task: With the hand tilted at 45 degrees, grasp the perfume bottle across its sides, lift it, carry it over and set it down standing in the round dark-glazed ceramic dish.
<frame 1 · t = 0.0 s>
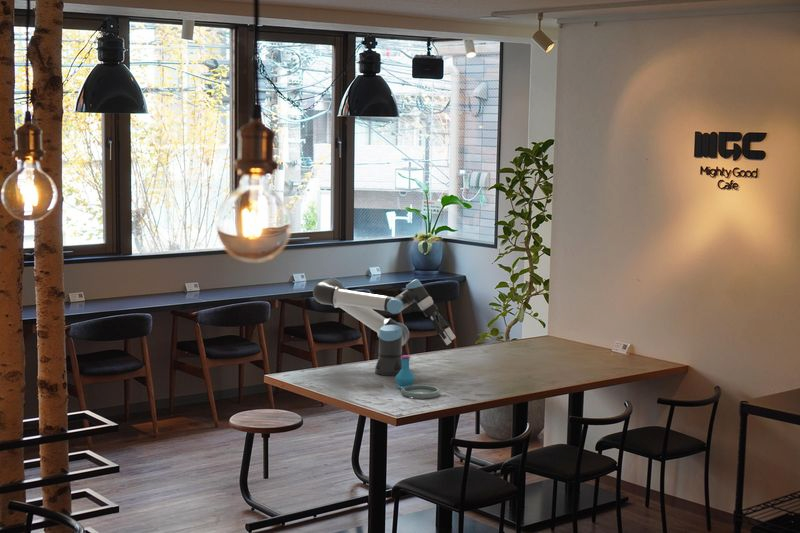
hand: (451, 341, 524), 15 cm above the table, tool tilted 35°, fingers open, 13 cm apart
perfume bottle: (405, 387, 489), on the table
round dish: (420, 394, 475), on the table
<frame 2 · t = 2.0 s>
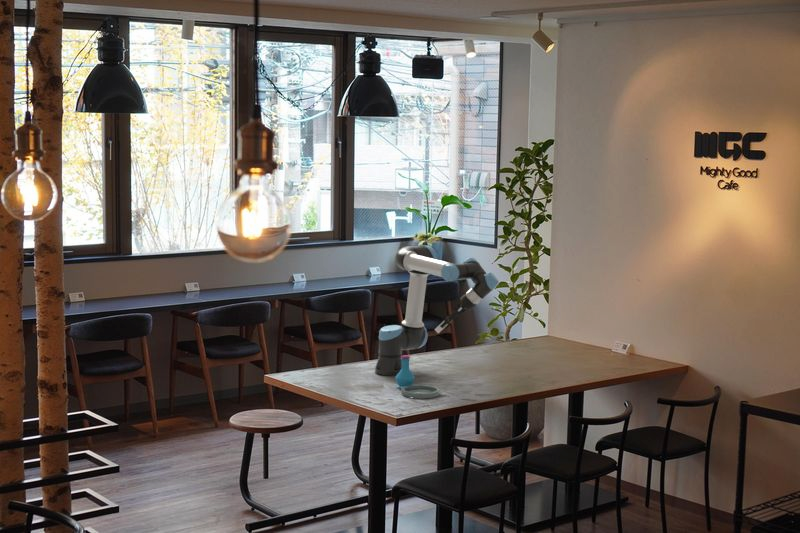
hand: (438, 329, 488), 28 cm above the table, tool tilted 45°, fingers open, 13 cm apart
nothing on the table moved.
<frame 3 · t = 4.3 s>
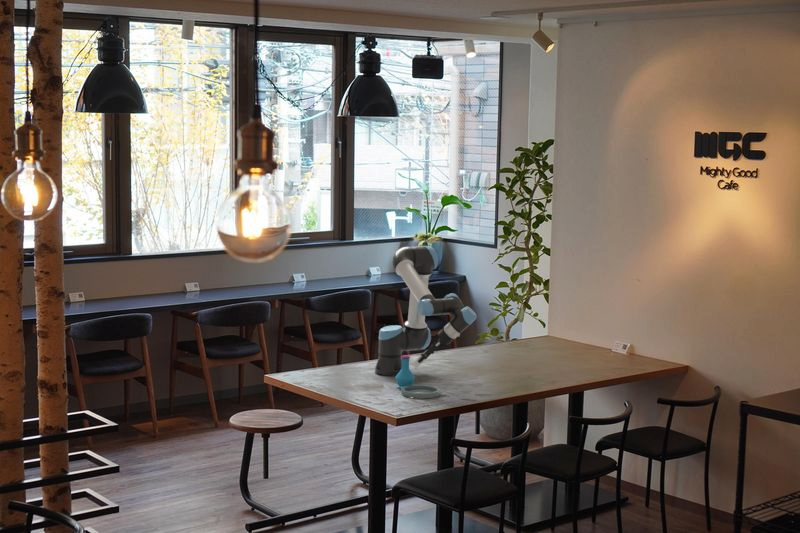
hand: (416, 363, 485), 12 cm above the table, tool tilted 45°, fingers open, 13 cm apart
nothing on the table moved.
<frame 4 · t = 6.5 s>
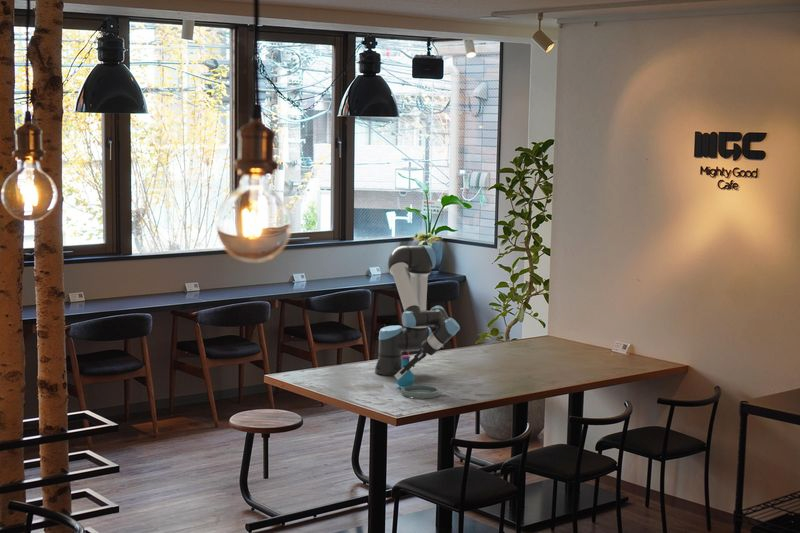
hand: (398, 375, 489), 5 cm above the table, tool tilted 45°, fingers closed on perfume bottle, 9 cm apart
perfume bottle: (405, 387, 489), on the table, touching gripper
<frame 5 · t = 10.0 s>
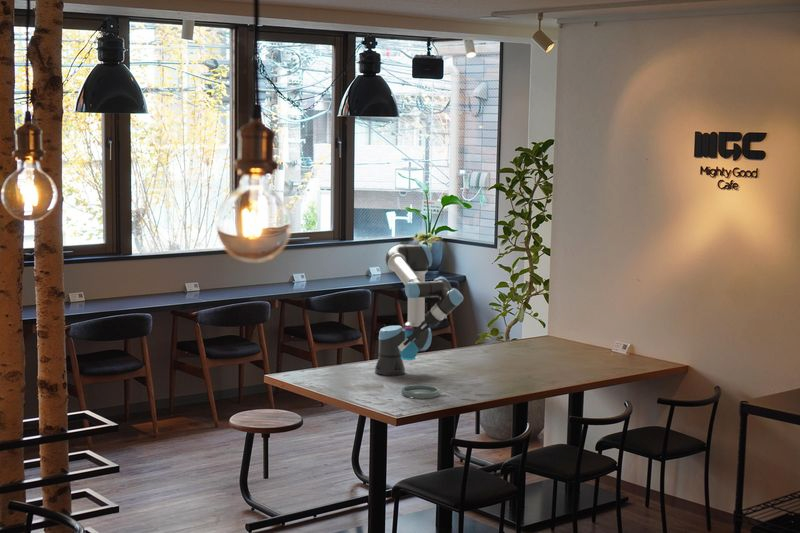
hand: (401, 347, 485), 19 cm above the table, tool tilted 45°, fingers closed on perfume bottle, 9 cm apart
perfume bottle: (408, 359, 485), point 14 cm above the table, touching gripper
when the fingers open (8 cm above the table, at t = 13.4 s): perfume bottle drops 1 cm, resting on round dish.
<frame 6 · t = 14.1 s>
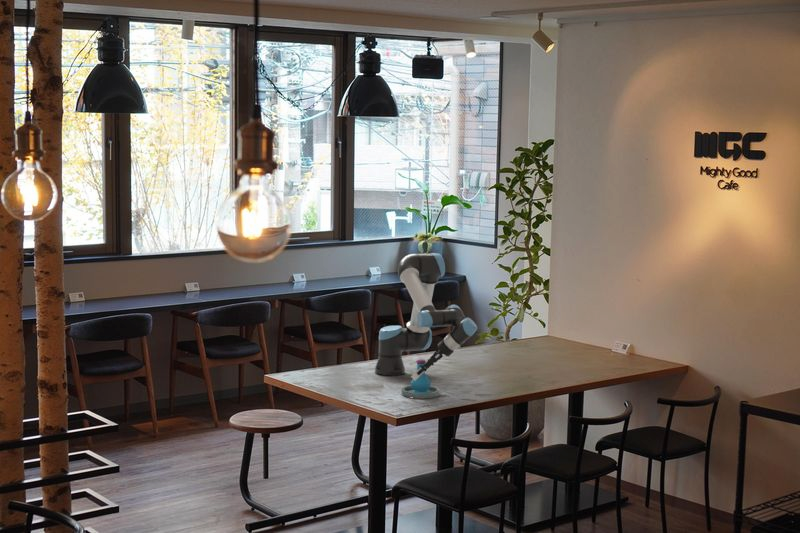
hand: (415, 375, 475), 9 cm above the table, tool tilted 45°, fingers open, 13 cm apart
perfume bottle: (420, 392, 475), point 1 cm above the table, touching round dish
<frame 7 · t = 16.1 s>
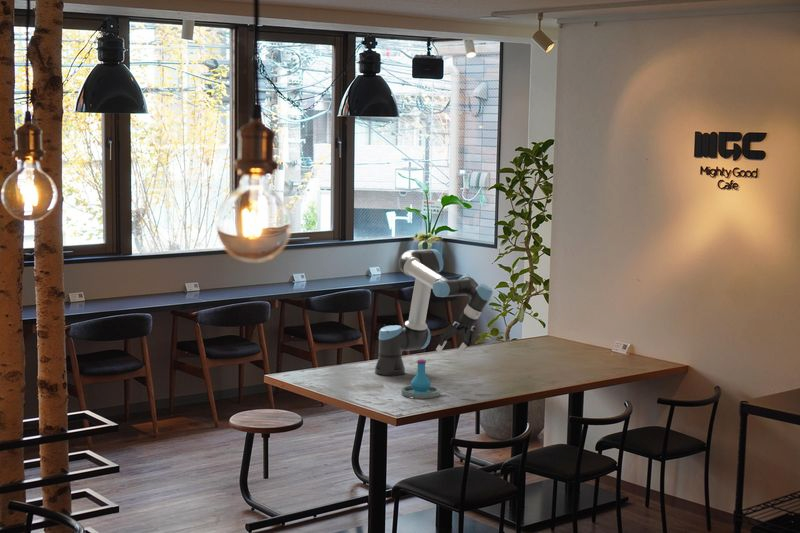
hand: (447, 353, 478), 18 cm above the table, tool tilted 30°, fingers open, 13 cm apart
nothing on the table moved.
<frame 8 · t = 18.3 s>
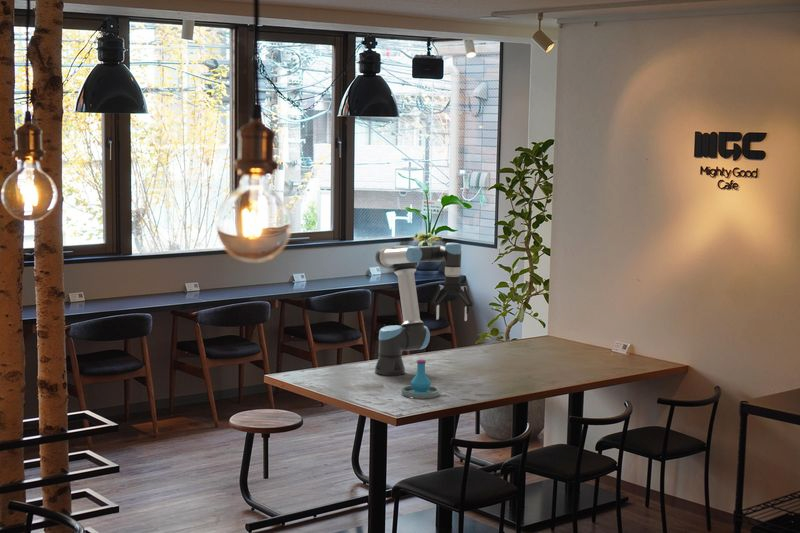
hand: (451, 319, 491), 32 cm above the table, tool pointing down, fingers open, 13 cm apart
nothing on the table moved.
at the end: perfume bottle inside the target area on the round dish (0.1 cm from its centre), point 0.7 cm above the round dish's base; perfume bottle tilted 0°; the gripper is holding nothing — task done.
